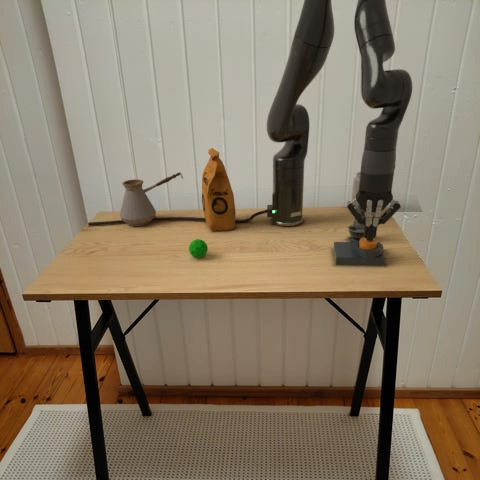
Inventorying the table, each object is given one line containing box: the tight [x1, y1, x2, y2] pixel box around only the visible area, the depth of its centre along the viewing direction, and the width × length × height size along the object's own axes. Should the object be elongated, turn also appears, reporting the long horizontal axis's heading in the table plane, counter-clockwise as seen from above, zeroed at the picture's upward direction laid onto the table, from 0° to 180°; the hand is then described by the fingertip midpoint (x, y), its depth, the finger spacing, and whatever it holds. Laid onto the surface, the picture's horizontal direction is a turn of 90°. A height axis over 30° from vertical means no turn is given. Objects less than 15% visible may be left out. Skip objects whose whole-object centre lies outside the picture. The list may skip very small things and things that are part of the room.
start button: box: [359, 237, 379, 250], centre depth 114 cm, size 4×4×2 cm
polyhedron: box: [188, 238, 209, 259], centre depth 121 cm, size 5×5×5 cm
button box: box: [332, 241, 386, 267], centre depth 117 cm, size 12×10×4 cm
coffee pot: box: [119, 171, 184, 227], centre depth 143 cm, size 21×12×15 cm, turn 95°
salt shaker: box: [347, 203, 365, 242], centre depth 125 cm, size 6×6×12 cm
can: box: [351, 171, 360, 201], centre depth 145 cm, size 8×8×12 cm
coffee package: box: [201, 147, 237, 232], centre depth 136 cm, size 10×12×22 cm
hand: (369, 239), depth 114 cm, fingers closed
